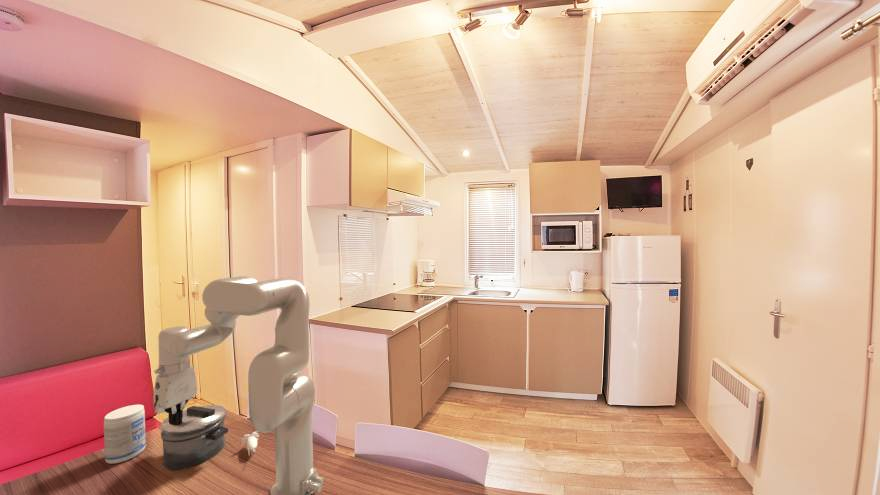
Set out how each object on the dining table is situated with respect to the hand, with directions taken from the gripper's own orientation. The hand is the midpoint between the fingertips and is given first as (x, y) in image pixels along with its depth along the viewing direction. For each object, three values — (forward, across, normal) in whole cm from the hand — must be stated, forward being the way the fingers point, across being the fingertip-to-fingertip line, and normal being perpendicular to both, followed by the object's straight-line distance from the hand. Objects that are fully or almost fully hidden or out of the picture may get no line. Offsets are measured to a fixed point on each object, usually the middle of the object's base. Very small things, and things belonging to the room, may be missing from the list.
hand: (175, 423), depth 97 cm
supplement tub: (+14, -1, +21) cm, 25 cm away
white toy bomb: (+13, +10, -20) cm, 25 cm away
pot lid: (+2, +5, -1) cm, 6 cm away
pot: (+13, +5, -1) cm, 14 cm away
